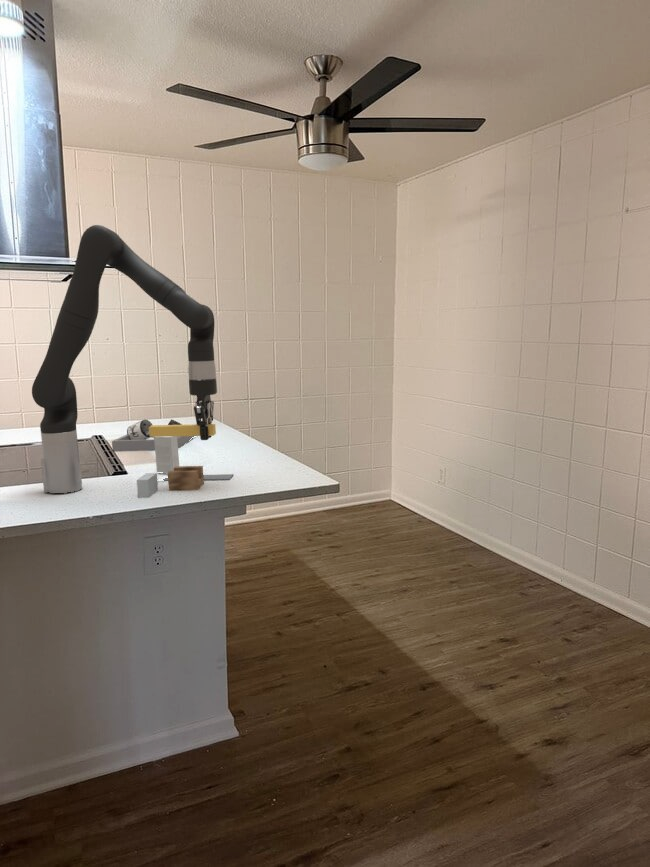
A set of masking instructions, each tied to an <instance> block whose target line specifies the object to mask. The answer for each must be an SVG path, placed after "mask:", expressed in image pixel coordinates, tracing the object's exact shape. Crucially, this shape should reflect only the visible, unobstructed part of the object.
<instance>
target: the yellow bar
mask: <svg viewBox="0 0 650 867" xmlns="http://www.w3.org/2000/svg"><path fill="white" fill-rule="evenodd" d="M216 430H217V429H216V423H212V424H208V434H209V436H216V434H217V431H216ZM149 433H150V438H154V437H164V436H197V437H200V427H199V426H197V423H196V424H194V423H193V424H182V425H168V424H160V425H159V424H155V425H154V424H152V426H150V427H149Z"/></svg>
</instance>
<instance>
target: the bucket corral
mask: <svg viewBox="0 0 650 867" xmlns="http://www.w3.org/2000/svg"><path fill="white" fill-rule="evenodd" d="M192 437H194V436H177V443H178V448H179V449H180V448H181V446H182V445H183V446H184V444H185V443H186V442H188V441H189V440H190V439H191V438H192ZM189 442H190V441H189ZM189 442H188V443H189ZM186 444H187V443H186ZM186 444H185V445H186ZM111 446H112V451H113V450H114V451H113V452H143V451H145V452H146V451H155V443H154V438H153V439H146V440H130V439H129V435H127V434H124V435H122V436H120V437H118V438H115V439H113V440H112V441H111ZM183 446H182V447H183Z"/></svg>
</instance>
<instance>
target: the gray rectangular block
mask: <svg viewBox="0 0 650 867" xmlns="http://www.w3.org/2000/svg"><path fill="white" fill-rule="evenodd" d="M157 480H158V474H157V472H151V473H144V474H143V475H141V476H140V477H138V479H136V487H137V488H136V489H137V498H139V499H141V498H144V499H145V498H146V499H147V498H150V497H152V496H153V495H154V494H156V493H157V492H158V491H159V485H158V483H159V482H157ZM157 490H158V491H157Z"/></svg>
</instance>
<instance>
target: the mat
mask: <svg viewBox="0 0 650 867" xmlns="http://www.w3.org/2000/svg"><path fill="white" fill-rule="evenodd" d="M203 476H204V482H206V481H230V480H231V479H232V478H233V477H234V474H233V473H231V474H230V473H229V474H225V473H224V474H203ZM163 480H164V481H168V478H165V479H163Z"/></svg>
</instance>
